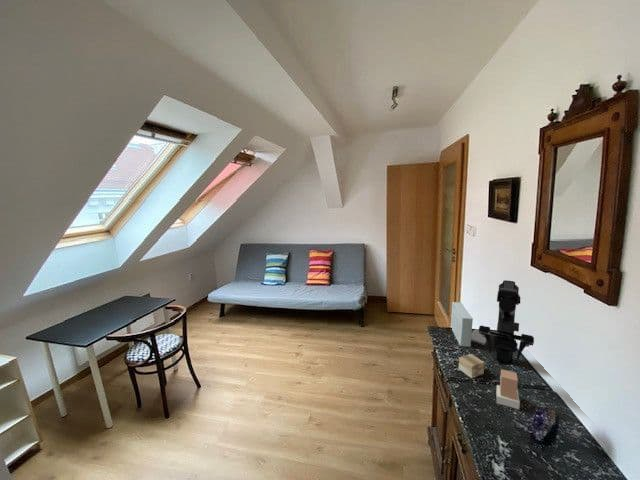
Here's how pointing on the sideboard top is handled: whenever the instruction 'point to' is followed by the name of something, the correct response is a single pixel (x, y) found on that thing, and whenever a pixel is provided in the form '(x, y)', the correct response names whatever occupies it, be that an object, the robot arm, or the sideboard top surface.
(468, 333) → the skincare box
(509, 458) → the sideboard top surface
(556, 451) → the sideboard top surface
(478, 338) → the external hard drive
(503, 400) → the block
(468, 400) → the sideboard top surface
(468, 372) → the tower base
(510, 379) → the terracotta block
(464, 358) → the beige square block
